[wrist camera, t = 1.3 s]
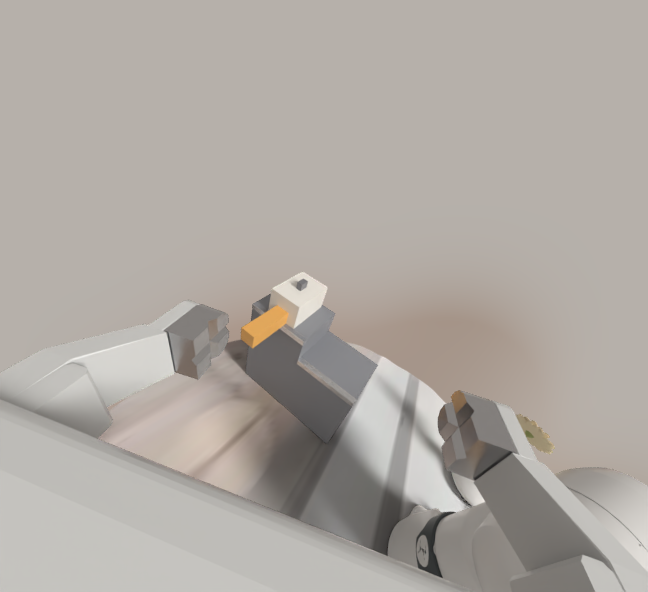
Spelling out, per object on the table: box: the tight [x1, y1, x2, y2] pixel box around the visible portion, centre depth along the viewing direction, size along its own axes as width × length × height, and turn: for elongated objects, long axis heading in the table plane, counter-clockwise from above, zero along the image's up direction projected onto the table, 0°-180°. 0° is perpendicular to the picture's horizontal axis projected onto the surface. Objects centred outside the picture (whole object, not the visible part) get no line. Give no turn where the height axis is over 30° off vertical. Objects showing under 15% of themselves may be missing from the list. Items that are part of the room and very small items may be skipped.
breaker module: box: [241, 272, 327, 349], centre depth 47 cm, size 19×7×8 cm, turn 146°
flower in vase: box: [452, 414, 555, 506], centre depth 52 cm, size 13×11×25 cm
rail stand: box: [246, 294, 378, 444], centre depth 59 cm, size 12×28×26 cm, turn 56°
